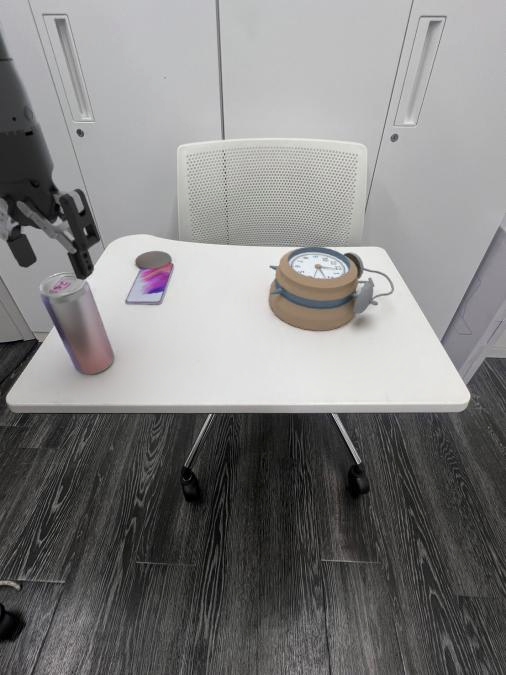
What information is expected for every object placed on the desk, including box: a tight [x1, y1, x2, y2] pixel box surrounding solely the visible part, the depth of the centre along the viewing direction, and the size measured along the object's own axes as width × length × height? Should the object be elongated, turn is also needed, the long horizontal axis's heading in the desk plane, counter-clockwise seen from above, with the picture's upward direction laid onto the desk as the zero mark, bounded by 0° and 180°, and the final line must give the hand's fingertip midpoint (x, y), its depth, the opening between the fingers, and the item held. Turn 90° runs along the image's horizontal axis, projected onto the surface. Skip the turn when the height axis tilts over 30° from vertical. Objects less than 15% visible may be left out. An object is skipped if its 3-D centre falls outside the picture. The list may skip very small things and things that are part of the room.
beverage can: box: [38, 271, 115, 375], centre depth 49 cm, size 6×6×15 cm
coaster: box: [134, 250, 172, 270], centre depth 78 cm, size 8×8×1 cm
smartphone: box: [124, 262, 175, 306], centre depth 71 cm, size 7×1×15 cm
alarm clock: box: [268, 246, 395, 331], centre depth 65 cm, size 17×9×23 cm
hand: (57, 270), depth 43 cm, fingers open, 8 cm apart
